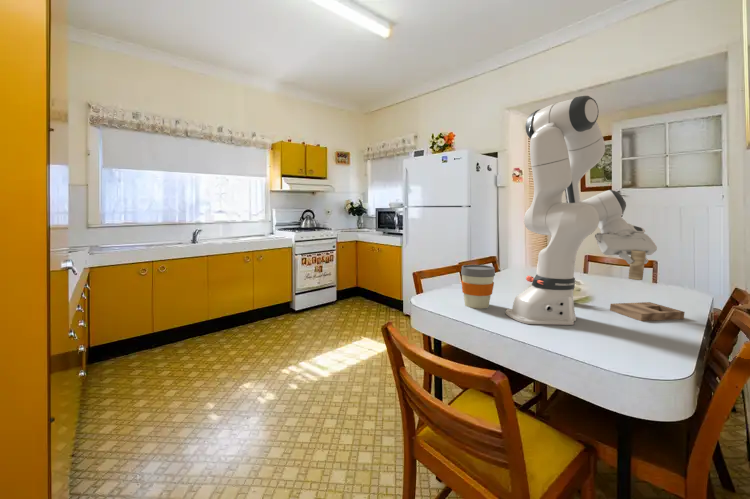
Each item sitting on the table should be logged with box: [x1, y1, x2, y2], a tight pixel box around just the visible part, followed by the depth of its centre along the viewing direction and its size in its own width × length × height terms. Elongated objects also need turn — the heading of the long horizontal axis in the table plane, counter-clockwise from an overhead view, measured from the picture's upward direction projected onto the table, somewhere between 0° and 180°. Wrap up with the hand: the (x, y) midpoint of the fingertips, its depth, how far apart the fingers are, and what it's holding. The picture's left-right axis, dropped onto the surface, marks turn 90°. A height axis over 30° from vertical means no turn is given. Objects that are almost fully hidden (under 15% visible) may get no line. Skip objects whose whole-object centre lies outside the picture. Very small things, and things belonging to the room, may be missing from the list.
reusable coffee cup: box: [460, 264, 496, 309], centre depth 130 cm, size 13×13×15 cm
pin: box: [627, 250, 646, 281], centre depth 119 cm, size 4×4×10 cm
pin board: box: [609, 301, 685, 322], centre depth 119 cm, size 16×12×2 cm
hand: (638, 262), depth 118 cm, fingers closed on pin, 4 cm apart
